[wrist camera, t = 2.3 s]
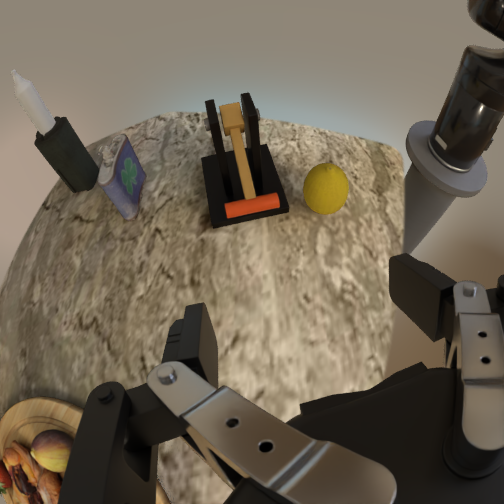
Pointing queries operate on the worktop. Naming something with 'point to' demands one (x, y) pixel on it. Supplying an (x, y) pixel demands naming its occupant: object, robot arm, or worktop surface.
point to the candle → (57, 140)
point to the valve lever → (243, 167)
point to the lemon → (325, 188)
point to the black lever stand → (226, 170)
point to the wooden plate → (39, 450)
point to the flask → (122, 176)
